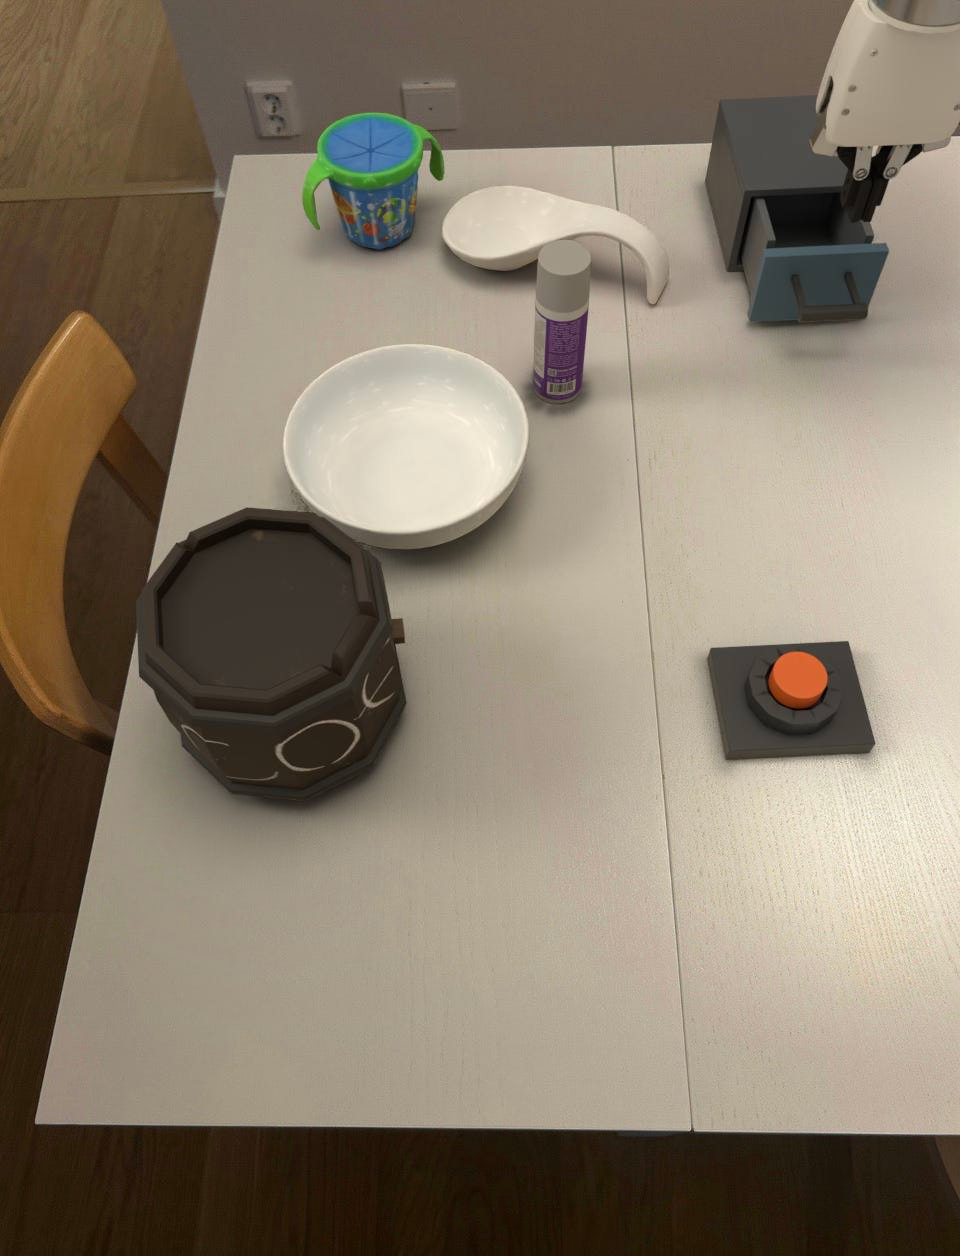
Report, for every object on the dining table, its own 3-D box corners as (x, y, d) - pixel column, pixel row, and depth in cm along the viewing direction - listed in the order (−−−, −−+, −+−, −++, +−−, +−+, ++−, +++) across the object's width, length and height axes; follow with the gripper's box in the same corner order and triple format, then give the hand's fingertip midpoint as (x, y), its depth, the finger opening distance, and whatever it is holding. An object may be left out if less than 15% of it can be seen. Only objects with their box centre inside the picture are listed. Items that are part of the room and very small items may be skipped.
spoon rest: (426, 273, 110) (421, 214, 104) (469, 204, 115) (467, 144, 109) (646, 330, 105) (654, 271, 99) (679, 255, 110) (689, 195, 104)
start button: (815, 661, 82) (821, 649, 80) (827, 707, 79) (833, 696, 78) (763, 663, 81) (768, 652, 80) (773, 710, 79) (778, 699, 78)
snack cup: (425, 179, 118) (419, 92, 109) (466, 235, 113) (463, 148, 104) (294, 222, 114) (276, 136, 106) (330, 281, 109) (315, 196, 101)
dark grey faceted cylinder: (433, 787, 80) (418, 689, 67) (195, 835, 79) (130, 744, 65) (395, 592, 89) (375, 472, 76) (181, 631, 88) (122, 515, 74)
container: (590, 379, 102) (602, 249, 89) (567, 410, 100) (576, 283, 87) (547, 361, 103) (553, 231, 90) (523, 392, 101) (526, 264, 88)
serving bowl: (261, 447, 98) (245, 394, 92) (463, 368, 103) (460, 313, 97) (352, 616, 88) (341, 569, 82) (570, 520, 93) (575, 469, 87)
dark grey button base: (843, 651, 85) (855, 628, 82) (869, 753, 81) (883, 733, 78) (706, 658, 85) (714, 635, 82) (725, 760, 81) (733, 741, 78)
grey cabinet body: (849, 265, 109) (877, 184, 101) (727, 271, 109) (744, 190, 101) (819, 176, 117) (842, 93, 108) (704, 181, 117) (719, 99, 108)
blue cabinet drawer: (879, 358, 101) (905, 293, 94) (759, 364, 101) (777, 300, 94) (834, 226, 111) (855, 159, 104) (726, 231, 111) (740, 164, 104)
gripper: (1023, -51, 75) (934, 179, 90) (810, -41, 75) (759, 187, 91) (1056, 8, 71) (958, 237, 87) (832, 18, 71) (774, 245, 87)
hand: (856, 211), depth 88 cm, fingers closed
